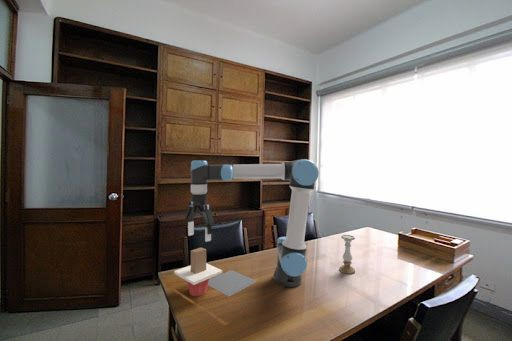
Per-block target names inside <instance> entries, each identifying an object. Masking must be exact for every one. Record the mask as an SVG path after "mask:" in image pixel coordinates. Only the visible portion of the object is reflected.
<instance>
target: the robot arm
mask: <svg viewBox="0 0 512 341" xmlns="http://www.w3.org/2000/svg"><path fill="white" fill-rule="evenodd" d="M319 172H320V171H319V168H318V166H317V165H316V163H315V162H314V161H312V160H310V159H306V158H304V159H303V158H301V159H296V160H292V161H282V162H281V163H262V164H261V163H254V164H253V163H252V164H251V163H250V164H245V163H244V164H243V163H242V164H237V163H236V164H224V163H223V164H208V161H207V160H192V161H191V163H190V193H191V194H190V202H188V208H187V210H186V214H185V215H184V216H185V217H184V220H185V221H186V222H187V236H188V237H190V236H193V235H195V225H194V224H195V223H194V222H195V221H194V219H195V217H196V215H197V214H199V215H200V216H201V217H202V220H203V222H204V225H205V227H204V228H205V230H204V233H205V234H204V236H205V237H204V241H205V242H211V241H212V231H213V230H212V227H215V226H216V223H215V220H214V217H213V214H212V210H211V204H206V203H207V202H208V193H207V192H208V182H209V181H210V182H211V181H213V182H214V181H218V182H220V181H221V182H222V181H223V182H227V181H228V182H229V181H232V180H233V179H234V180H235V179H238V180H240V179H241V180H244V179H249V180H250V179H251V180H252V179H255V180H257V179H281V180H282V181H289V188H290V189H291V196H290V201H289V202H290V203H289V211H288V220H287V226H286V227H287V228H286V236H280V237H278V238H277V239H276V240H277V243H276V246H277V247H276V267H275V268H274V269H275V270H274V272H273V281H274V282H275V283H277V284H278V285H281V286H283V288H284V287H285V288H295V287H299V286H300V285H301V284H302V283H303V276H302V274H304V273H305V272H306V270H307V269H308V268H307V267H308V261H307V258H306V257H307V256H306V255H307V248H308V246H307V245H306V243H305V236H306V229H307V221H308V213H309V204H310V198H311V197H310V196H311V193H312V192H314V190H315V184H316V182H317V180H318V178H319V175H320V174H319Z"/></svg>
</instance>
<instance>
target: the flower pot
mask: <svg viewBox="0 0 512 341" xmlns="http://www.w3.org/2000/svg"><path fill="white" fill-rule="evenodd" d="M209 279H210V278H209ZM209 279H207V280H205V281H202V282H200V283H197V284H195V285H193V284H191V283H190V282H188V281H186V283H187V288H188V293H189V295H190V296H193V297H200V296H203V295H205V294H206V293H207V292H208V287H209V286H208V282H209Z"/></svg>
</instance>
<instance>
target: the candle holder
mask: <svg viewBox="0 0 512 341" xmlns="http://www.w3.org/2000/svg"><path fill="white" fill-rule="evenodd" d="M340 237H341V239H342V240H343V241H344V248H345V249H344V252H343V254H342V263H343V264H342V265H341V266H340V267H338V268H339V272H341V273H343V274H347V275H353V274H355V272H356V269H355V268H354V267H353V266H352V260H353V254H352V253H351V252H352V251H351V248H352V245H351V243H352V241H355V240H356V237H355V236H354V235H350V234H342V235H341V236H340Z"/></svg>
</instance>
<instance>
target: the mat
mask: <svg viewBox="0 0 512 341" xmlns="http://www.w3.org/2000/svg"><path fill="white" fill-rule="evenodd" d="M257 282H258V280H255V279H253V278H251V277H248V276H246V275H244V274H243V273H239V272H237V271H235V270H231V269H229V270H227V271H226V272H222V273H221V274H219V275H216V276H214V277H212V278H209V282H208V287H211V288H212V289H214V290H216V291H217V292H219V293H221V294H223V295H225V296H226V297H231V296H233V295H235V294H237V293H239V292H241V291H242V290H244V289H246V288H248V287H250V286H252V285H254V284H255V283H257Z"/></svg>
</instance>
